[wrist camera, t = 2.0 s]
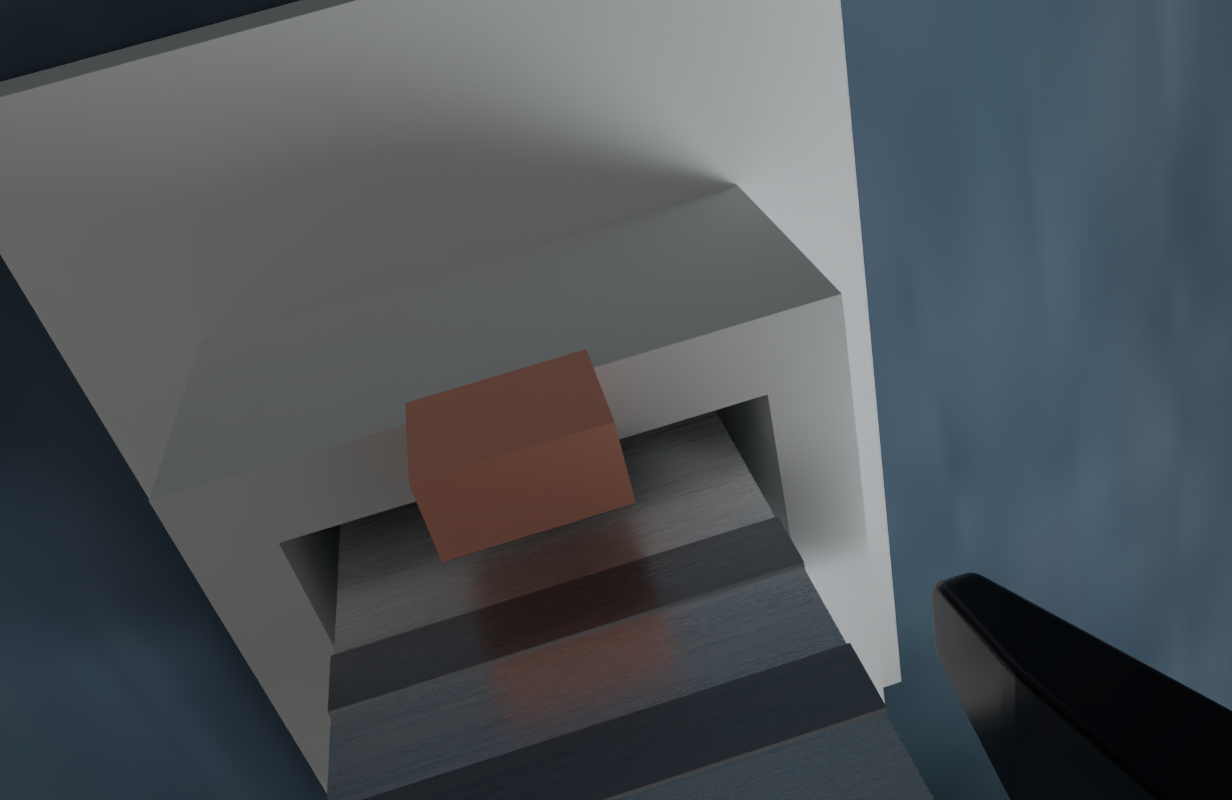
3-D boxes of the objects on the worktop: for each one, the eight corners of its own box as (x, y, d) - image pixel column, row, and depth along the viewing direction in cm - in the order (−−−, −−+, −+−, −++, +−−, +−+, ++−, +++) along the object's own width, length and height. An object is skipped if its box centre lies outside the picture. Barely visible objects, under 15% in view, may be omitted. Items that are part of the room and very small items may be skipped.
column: (662, 312, 12) (1156, 1185, 4) (714, 552, 14) (1111, 1423, 6) (343, 406, 11) (283, 1504, 4) (445, 636, 14) (531, 1642, 6)
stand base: (793, -134, 11) (1084, -94, 6) (875, 638, 17) (1047, 924, 13) (-45, 93, 10) (-365, 311, 6) (366, 802, 17) (362, 1159, 12)
